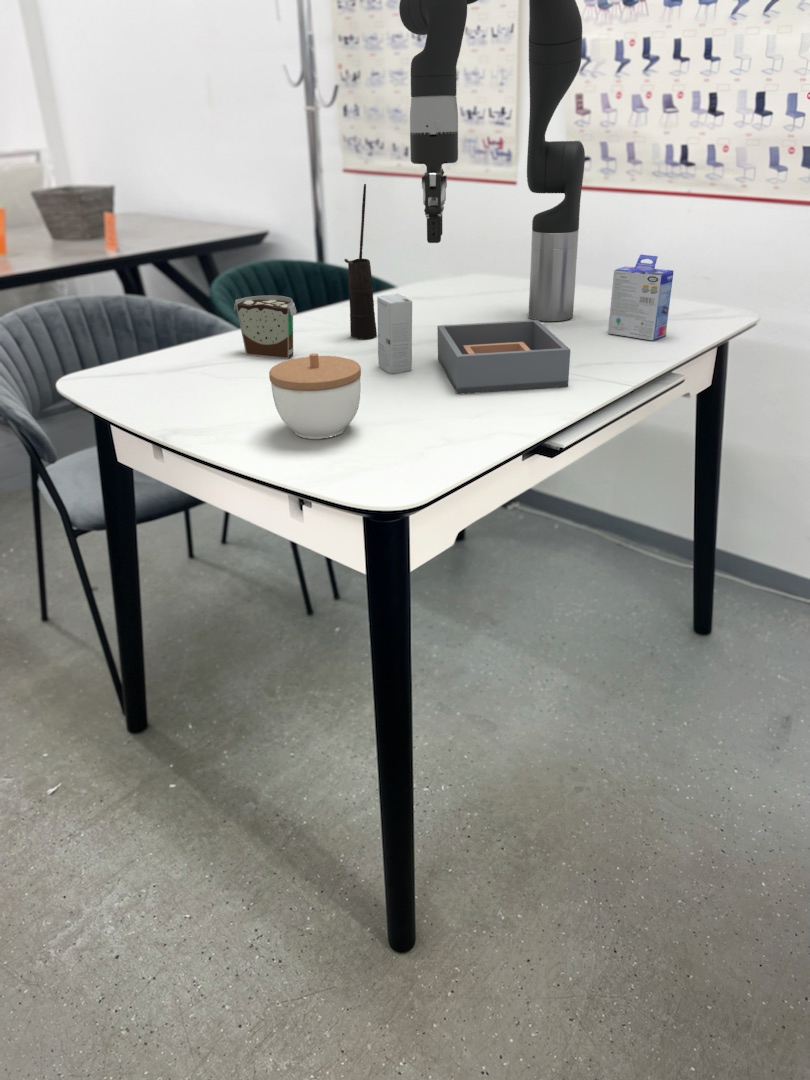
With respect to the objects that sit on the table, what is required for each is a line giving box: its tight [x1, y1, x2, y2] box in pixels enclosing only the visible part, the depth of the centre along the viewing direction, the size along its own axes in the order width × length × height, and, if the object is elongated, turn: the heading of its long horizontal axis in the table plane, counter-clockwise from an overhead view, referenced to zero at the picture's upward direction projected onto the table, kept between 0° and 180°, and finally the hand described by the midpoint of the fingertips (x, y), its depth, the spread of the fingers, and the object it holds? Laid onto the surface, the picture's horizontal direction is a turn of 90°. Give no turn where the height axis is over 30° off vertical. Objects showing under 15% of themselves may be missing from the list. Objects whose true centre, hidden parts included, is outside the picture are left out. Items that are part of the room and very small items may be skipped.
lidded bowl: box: [268, 352, 362, 440], centre depth 116 cm, size 13×13×11 cm
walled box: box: [436, 319, 571, 395], centre depth 139 cm, size 20×18×6 cm
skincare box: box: [376, 293, 413, 374], centre depth 141 cm, size 6×4×12 cm
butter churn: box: [343, 183, 378, 340], centre depth 157 cm, size 9×10×28 cm
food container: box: [233, 295, 297, 360], centre depth 153 cm, size 12×6×10 cm, turn 65°
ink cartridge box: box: [607, 254, 674, 341], centre depth 155 cm, size 10×6×14 cm, turn 49°
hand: (435, 239), depth 136 cm, fingers open, 8 cm apart
